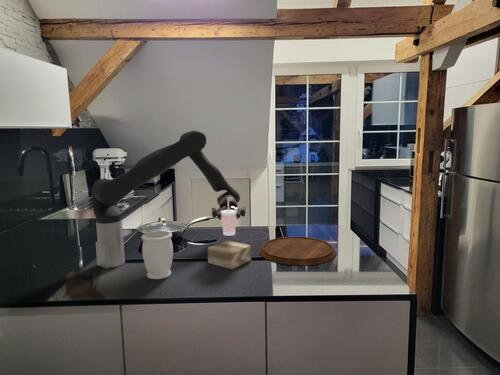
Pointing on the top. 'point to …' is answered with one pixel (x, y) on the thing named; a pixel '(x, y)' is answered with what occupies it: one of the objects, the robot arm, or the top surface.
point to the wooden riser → (229, 254)
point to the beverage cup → (228, 221)
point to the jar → (157, 253)
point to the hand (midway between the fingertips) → (228, 216)
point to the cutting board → (297, 251)
